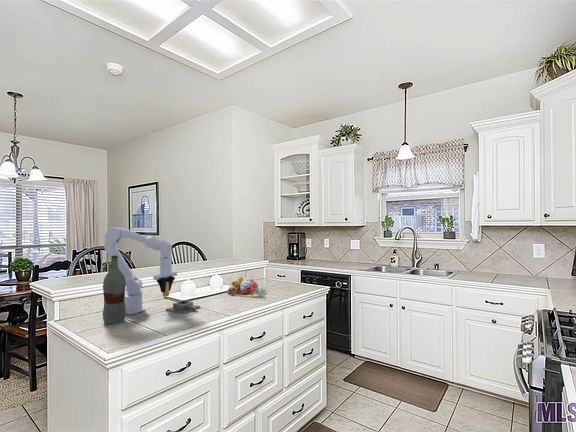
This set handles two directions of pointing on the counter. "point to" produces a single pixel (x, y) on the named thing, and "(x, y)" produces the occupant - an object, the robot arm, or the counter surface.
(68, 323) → the counter surface
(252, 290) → the pastel sphere sculpture
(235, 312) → the counter surface
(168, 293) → the round-ended pin
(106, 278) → the bottle
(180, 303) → the grey slotted socket block
